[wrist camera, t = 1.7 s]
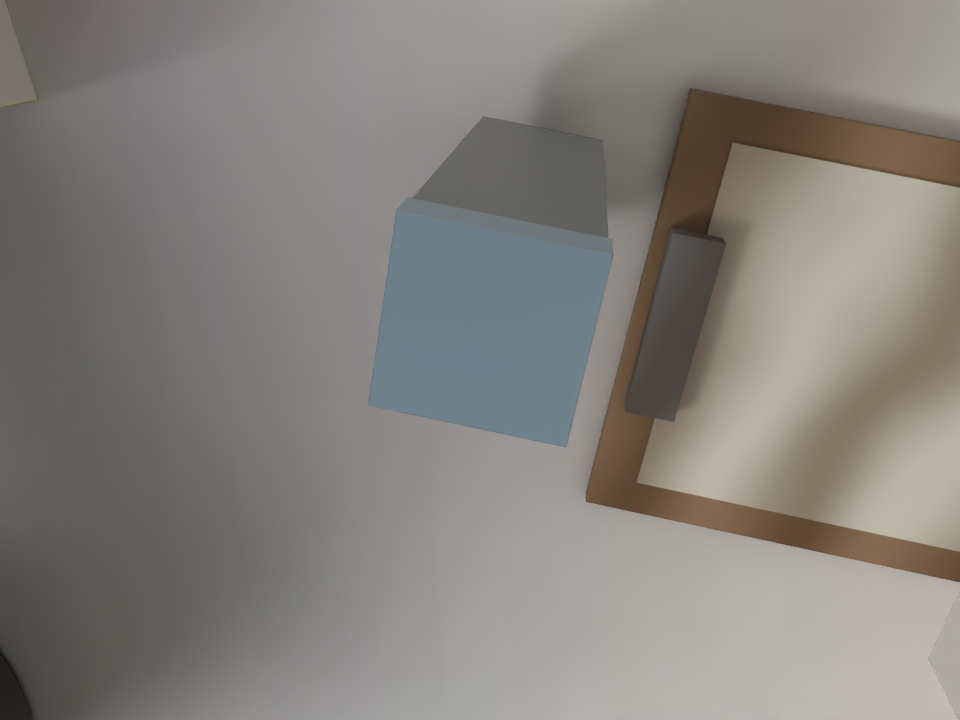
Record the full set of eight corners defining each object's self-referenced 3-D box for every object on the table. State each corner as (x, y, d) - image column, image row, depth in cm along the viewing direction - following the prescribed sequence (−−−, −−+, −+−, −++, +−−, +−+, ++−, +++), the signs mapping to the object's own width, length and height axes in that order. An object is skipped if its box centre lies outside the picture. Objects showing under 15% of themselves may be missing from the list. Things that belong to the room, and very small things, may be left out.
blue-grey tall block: (467, 222, 29) (368, 405, 16) (487, 108, 28) (396, 209, 15) (578, 245, 29) (566, 447, 16) (604, 131, 28) (613, 254, 15)
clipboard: (586, 492, 32) (585, 513, 31) (690, 88, 27) (695, 93, 26) (1068, 596, 32) (1088, 622, 31) (1274, 203, 26) (1309, 214, 25)
